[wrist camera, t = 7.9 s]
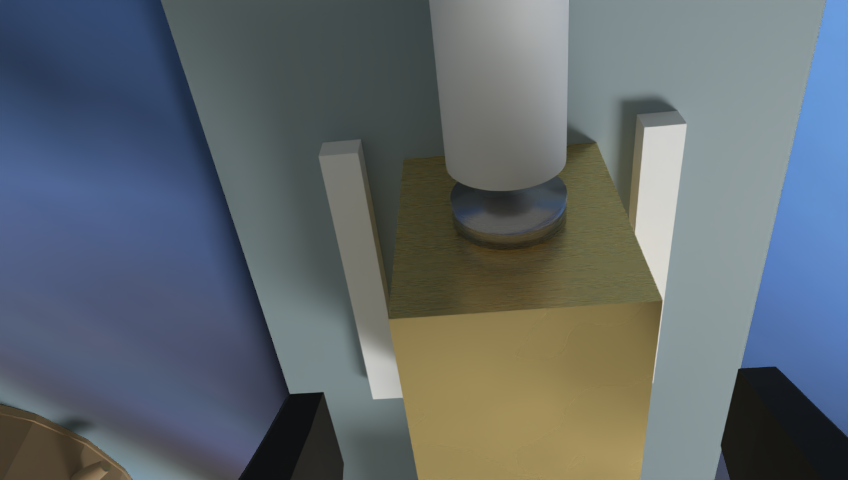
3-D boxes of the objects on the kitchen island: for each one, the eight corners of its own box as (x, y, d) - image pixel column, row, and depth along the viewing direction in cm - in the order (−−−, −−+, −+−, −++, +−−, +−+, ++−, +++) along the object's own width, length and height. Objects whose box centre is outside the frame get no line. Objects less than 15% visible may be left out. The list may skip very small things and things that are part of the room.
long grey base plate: (884, -495, 9) (1455, -835, 4) (686, 499, 23) (759, 716, 18) (81, -370, 10) (-294, -516, 5) (347, 514, 24) (321, 724, 19)
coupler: (597, 119, 13) (666, 272, 9) (586, 365, 17) (631, 547, 13) (400, 137, 14) (383, 293, 10) (434, 374, 18) (432, 555, 14)
